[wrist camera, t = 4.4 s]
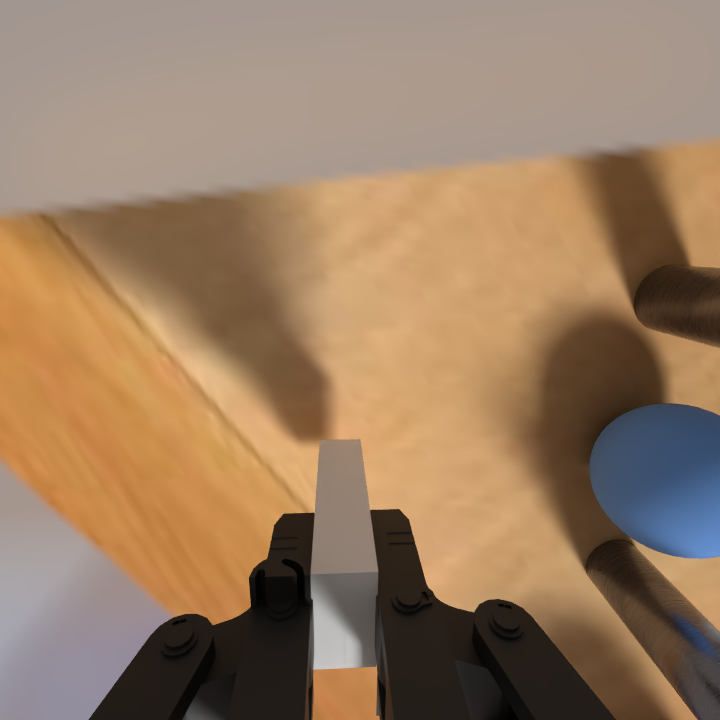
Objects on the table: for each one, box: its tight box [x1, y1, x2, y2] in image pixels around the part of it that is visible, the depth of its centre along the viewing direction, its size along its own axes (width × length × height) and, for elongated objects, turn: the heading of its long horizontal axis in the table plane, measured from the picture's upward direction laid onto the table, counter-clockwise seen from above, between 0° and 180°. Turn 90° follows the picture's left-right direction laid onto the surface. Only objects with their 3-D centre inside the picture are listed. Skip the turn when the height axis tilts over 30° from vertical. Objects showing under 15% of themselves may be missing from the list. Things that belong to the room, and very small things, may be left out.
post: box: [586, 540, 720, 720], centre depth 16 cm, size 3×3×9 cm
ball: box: [589, 403, 720, 559], centre depth 16 cm, size 6×6×6 cm
